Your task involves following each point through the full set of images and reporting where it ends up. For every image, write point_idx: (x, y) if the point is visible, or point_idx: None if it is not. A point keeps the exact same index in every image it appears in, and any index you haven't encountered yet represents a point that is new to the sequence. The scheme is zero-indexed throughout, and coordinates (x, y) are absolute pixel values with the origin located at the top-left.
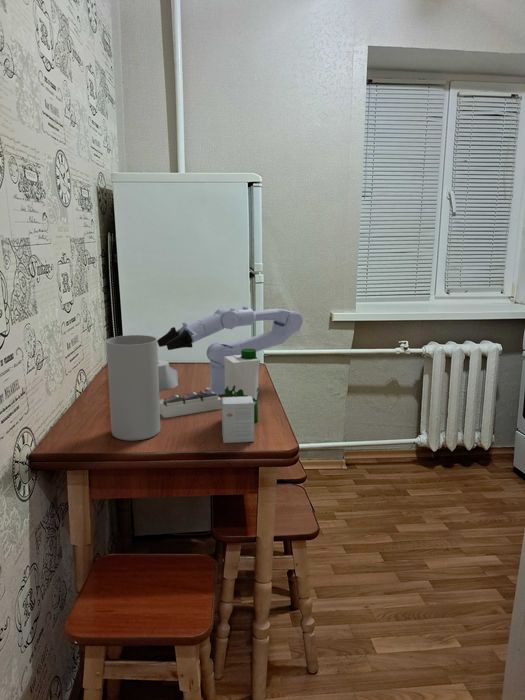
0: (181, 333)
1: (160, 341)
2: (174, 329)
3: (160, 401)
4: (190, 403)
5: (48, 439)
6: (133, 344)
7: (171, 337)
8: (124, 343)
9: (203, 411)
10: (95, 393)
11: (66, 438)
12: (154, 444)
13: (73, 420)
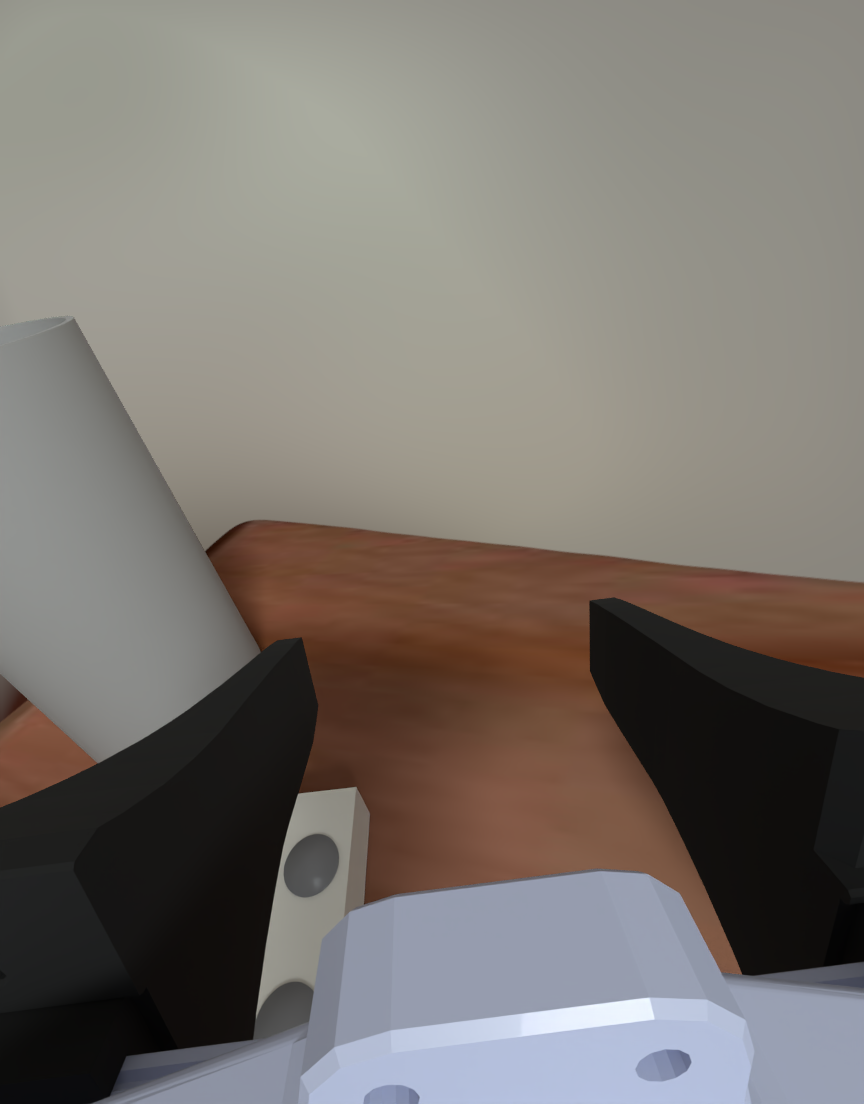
0: (141, 780)
1: (601, 635)
2: (818, 751)
3: (319, 809)
4: None
5: (307, 530)
6: (48, 401)
7: (704, 769)
8: (78, 374)
9: None
10: (709, 600)
11: (286, 554)
12: (48, 737)
13: (408, 558)
